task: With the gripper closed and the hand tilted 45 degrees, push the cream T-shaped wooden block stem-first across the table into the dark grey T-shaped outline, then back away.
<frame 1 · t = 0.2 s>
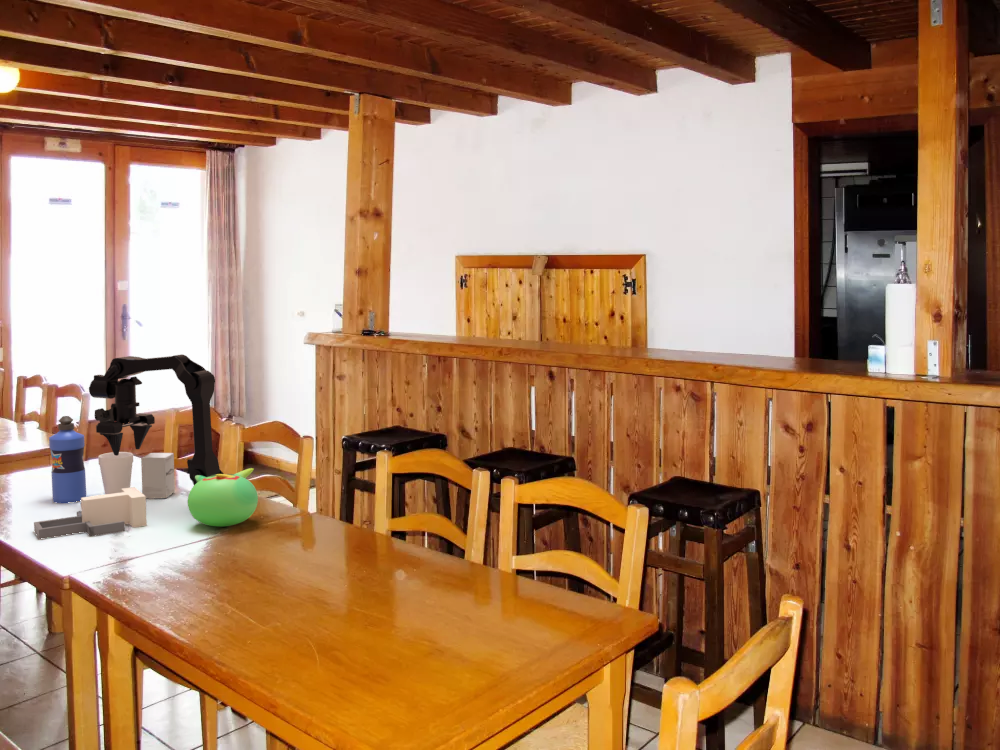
hand: (127, 452, 258), 15 cm above the table, tool pointing down, fingers open, 9 cm apart
foam cup: (117, 498, 263), on the table
water bottle: (69, 500, 261), on the table
t outline: (85, 528, 233), on the table
supplement box: (159, 496, 266), on the table
green rounded blob: (224, 525, 237), on the table
t block: (117, 523, 237), on the table
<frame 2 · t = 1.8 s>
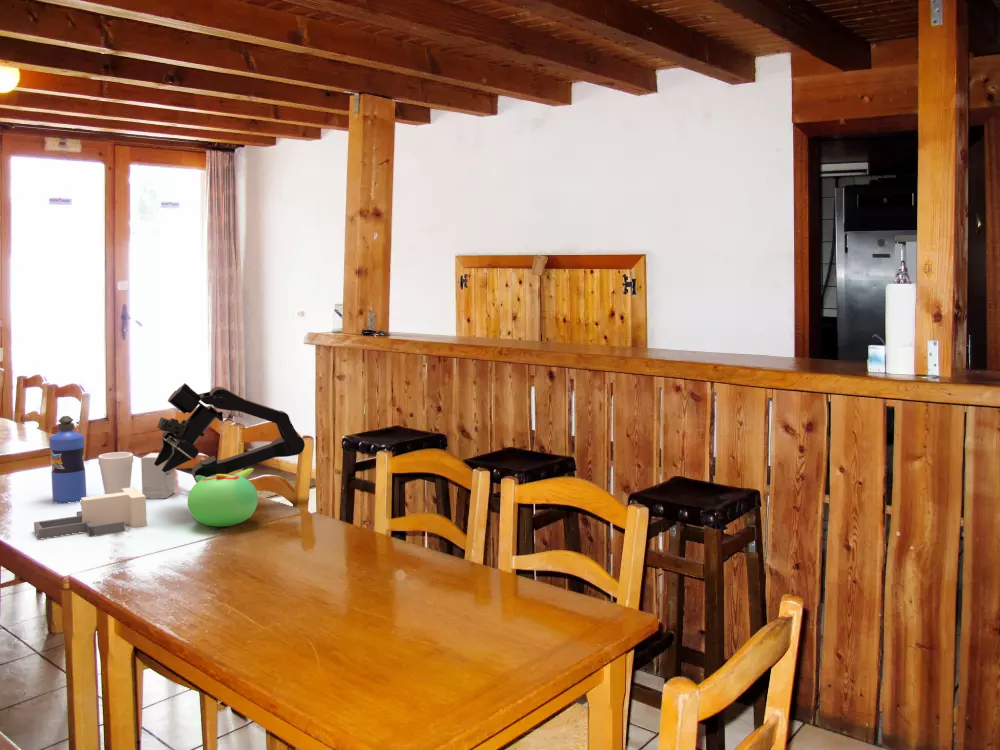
hand: (159, 468, 243), 14 cm above the table, tool tilted 45°, fingers open, 9 cm apart
nothing on the table moved.
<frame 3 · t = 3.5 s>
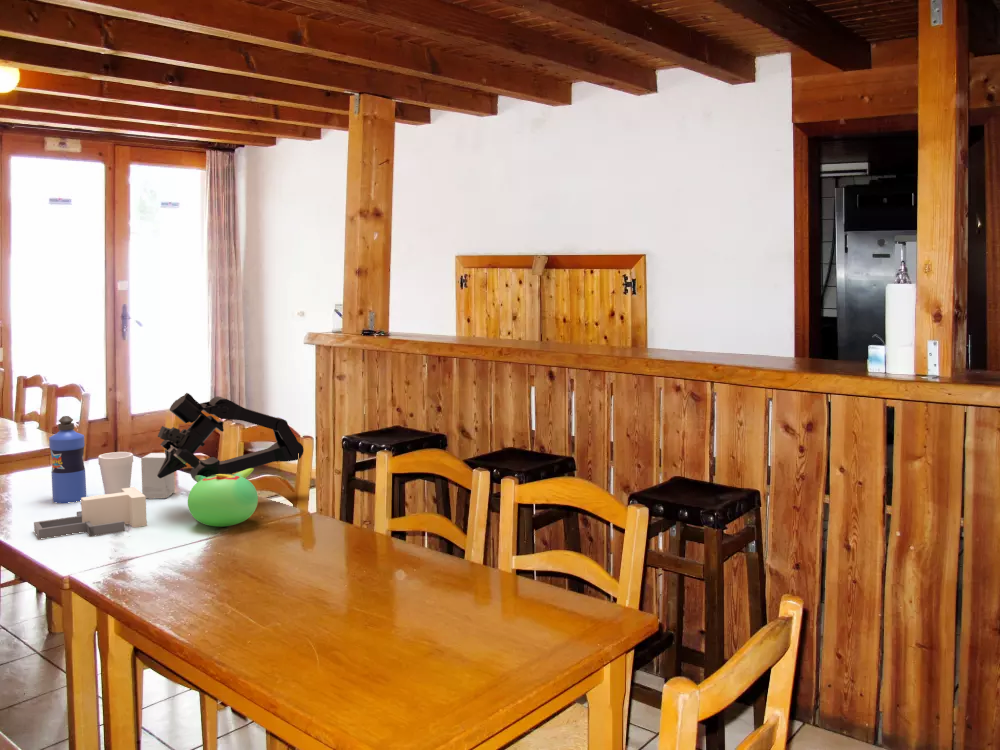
hand: (158, 477, 242), 11 cm above the table, tool tilted 45°, fingers closed
nothing on the table moved.
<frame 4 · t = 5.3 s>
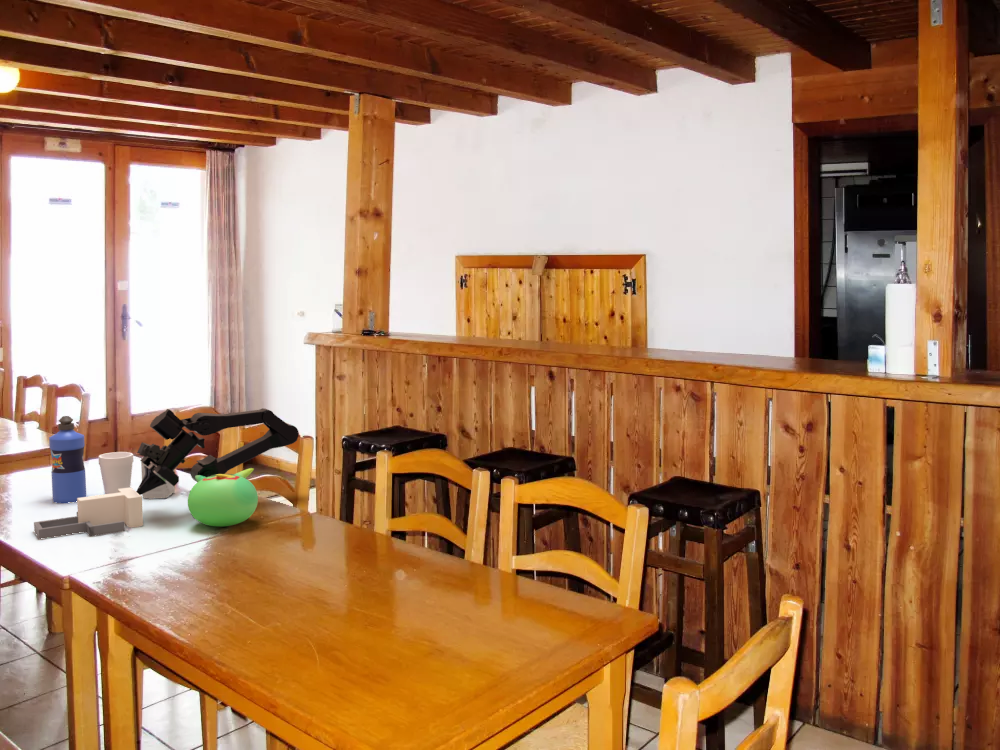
hand: (137, 494, 239), 7 cm above the table, tool tilted 45°, fingers closed, pressing on t block
t block: (114, 523, 237), on the table, touching gripper
everything else where it was.
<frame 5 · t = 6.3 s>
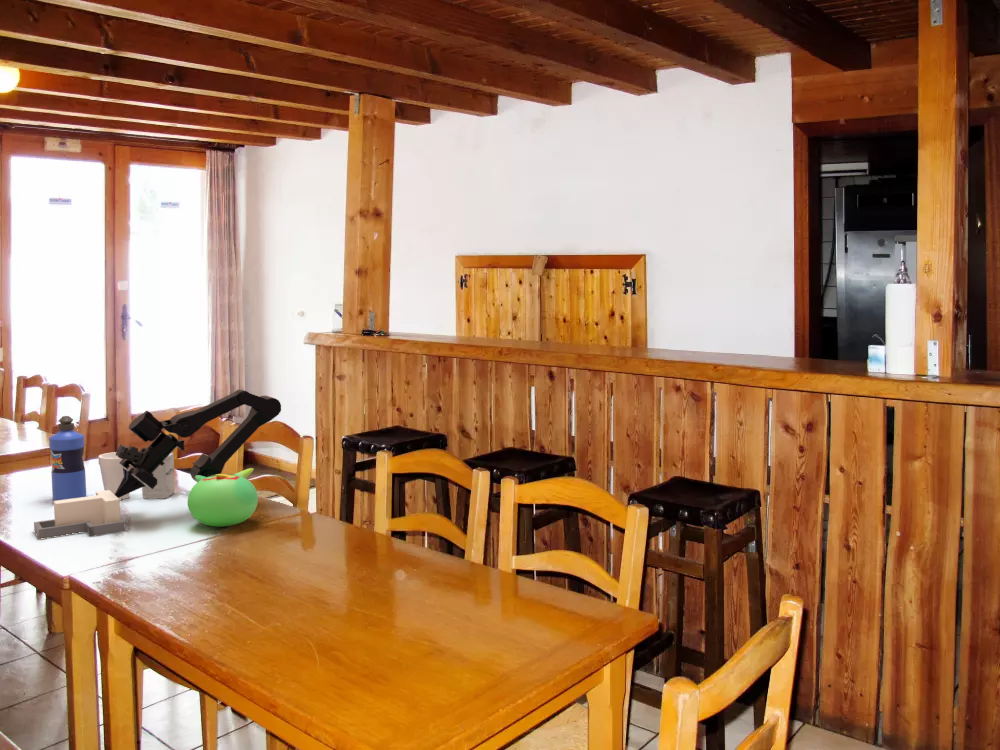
hand: (115, 496, 236), 7 cm above the table, tool tilted 45°, fingers closed, pressing on t block
t block: (91, 527, 234), on the table, touching gripper
everything else where it was.
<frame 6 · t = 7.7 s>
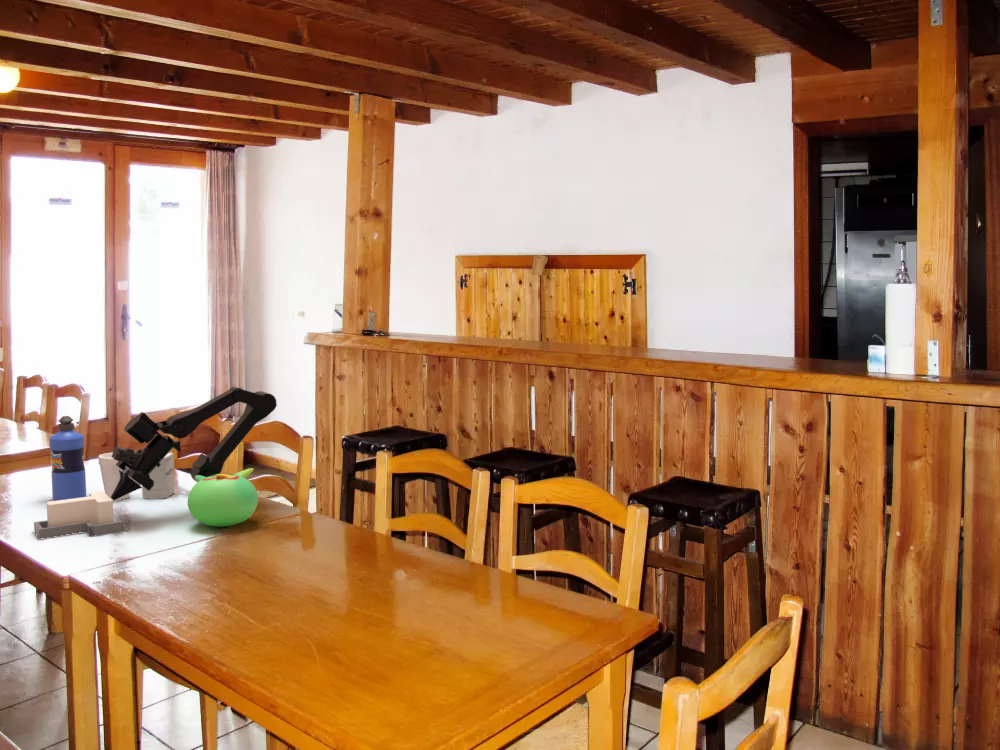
hand: (112, 498, 236), 7 cm above the table, tool tilted 45°, fingers closed
t block: (84, 528, 233), on the table
everything else where it was.
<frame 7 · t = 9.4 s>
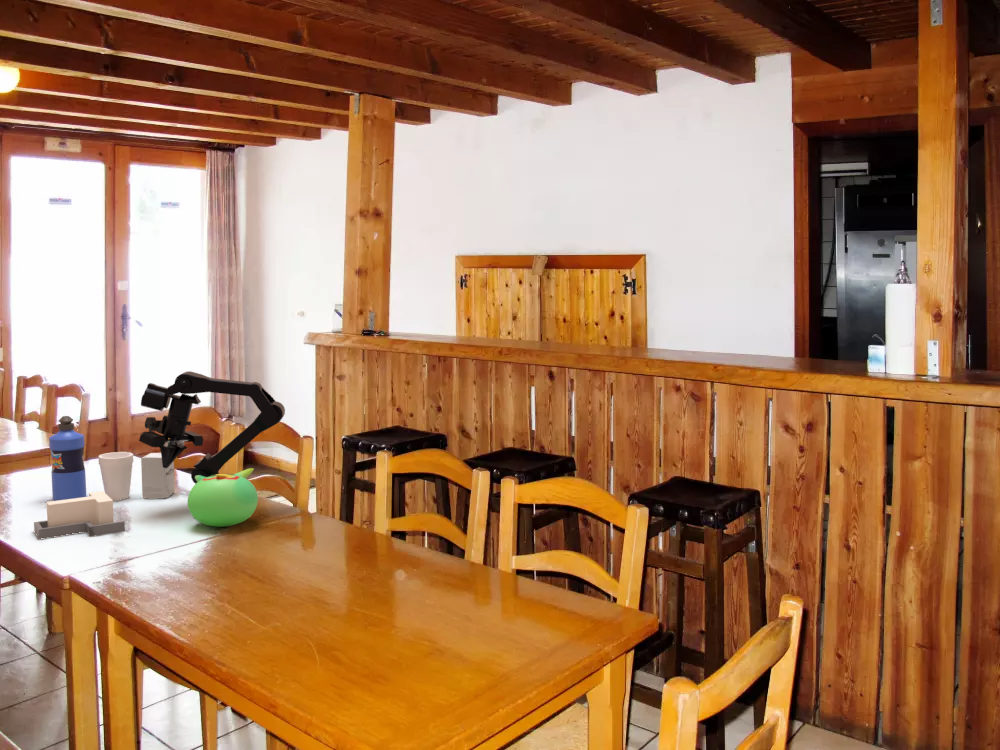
hand: (165, 467, 249), 12 cm above the table, tool tilted 15°, fingers closed
nothing on the table moved.
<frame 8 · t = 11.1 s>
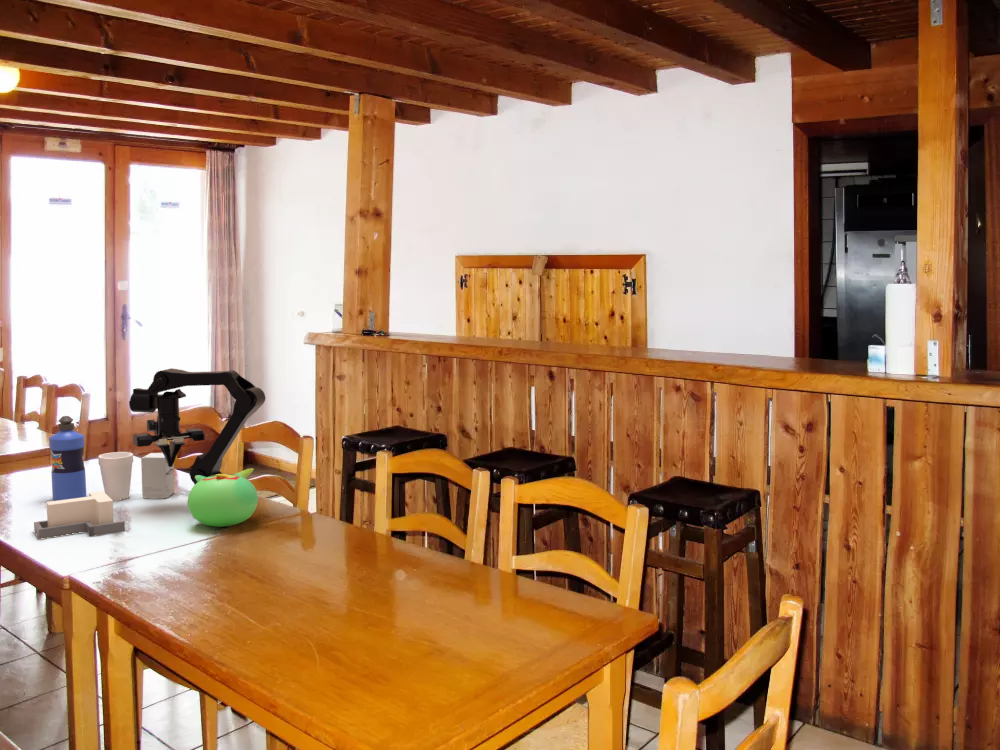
hand: (170, 466, 252), 12 cm above the table, tool pointing down, fingers closed
nothing on the table moved.
at the end: t block 0.2 cm from the t outline (horizontally); t block tilted 0°; t block moved 8.2 cm from its start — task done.
